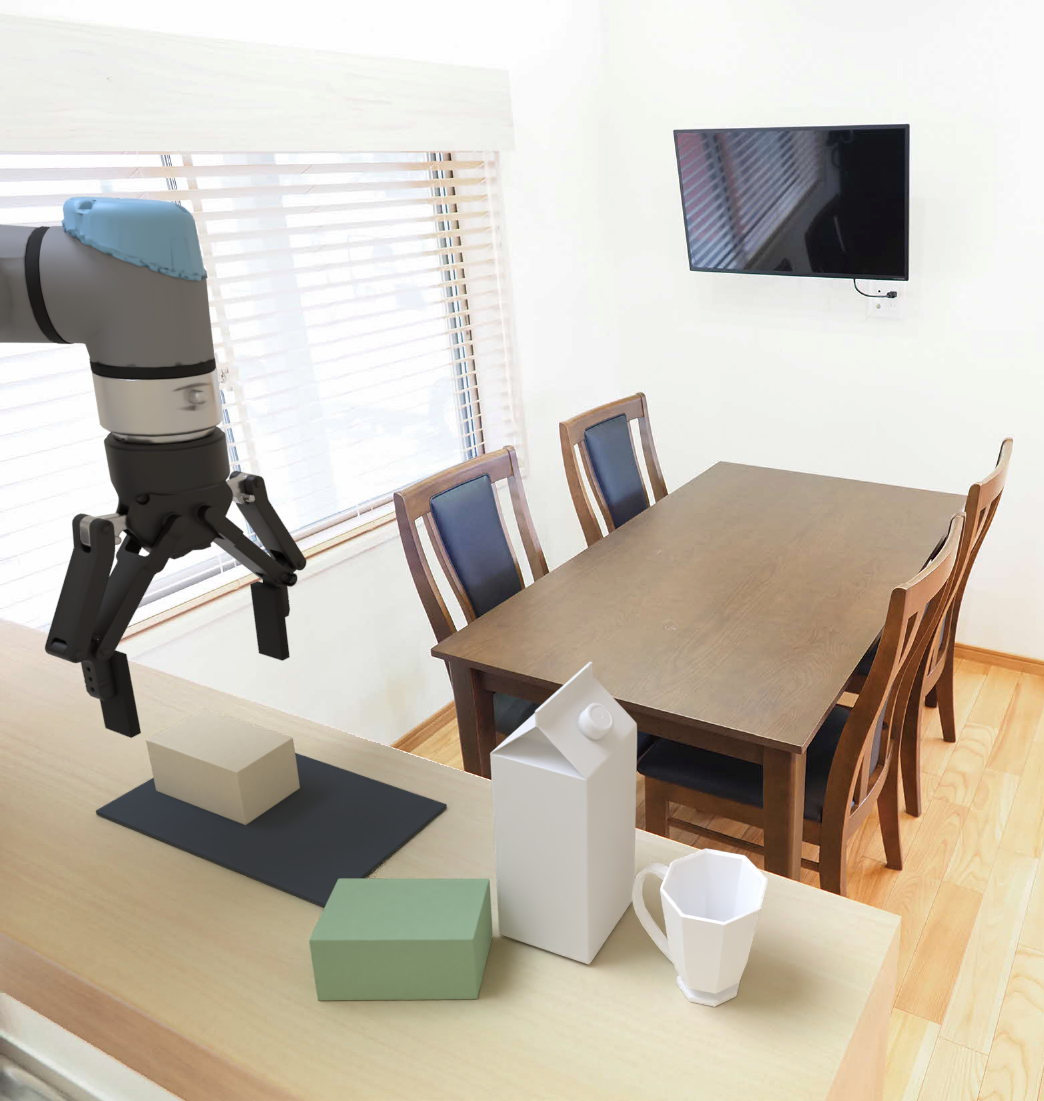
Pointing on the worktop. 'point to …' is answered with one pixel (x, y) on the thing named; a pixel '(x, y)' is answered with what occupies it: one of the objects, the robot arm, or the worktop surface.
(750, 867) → the cup
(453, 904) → the green block
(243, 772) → the cream block
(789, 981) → the worktop surface
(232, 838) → the mat
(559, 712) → the milk carton
